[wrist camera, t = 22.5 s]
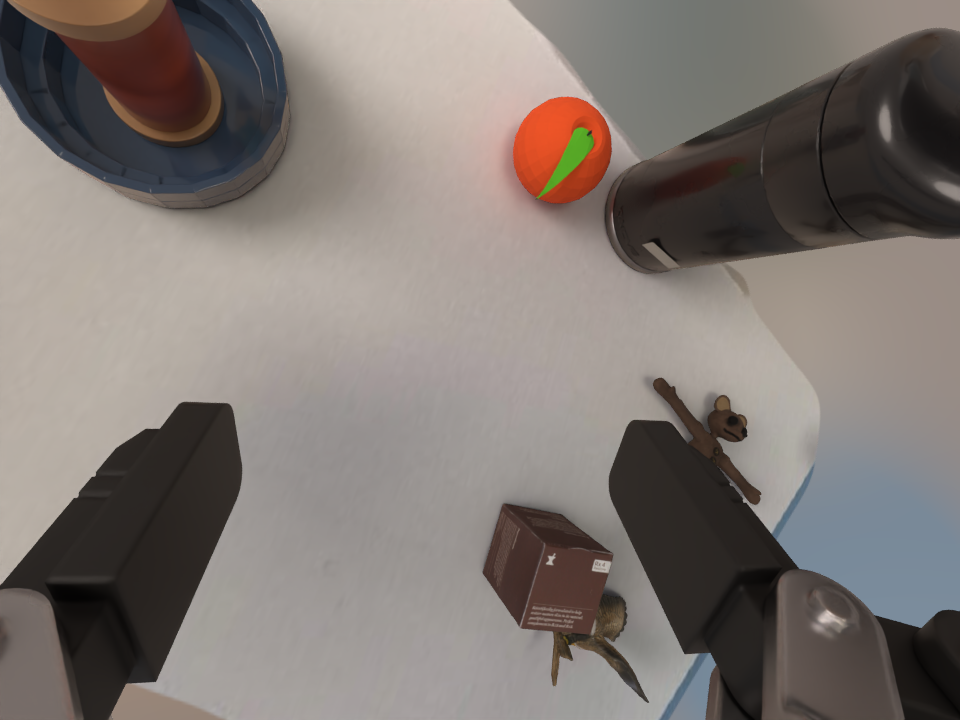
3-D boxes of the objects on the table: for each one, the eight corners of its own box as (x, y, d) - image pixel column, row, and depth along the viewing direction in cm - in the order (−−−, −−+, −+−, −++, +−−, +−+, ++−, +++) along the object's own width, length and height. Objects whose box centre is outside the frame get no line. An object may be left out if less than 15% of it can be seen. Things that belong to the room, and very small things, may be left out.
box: (479, 572, 37) (517, 630, 30) (501, 500, 37) (544, 541, 30) (542, 581, 39) (591, 637, 32) (563, 513, 39) (616, 554, 32)
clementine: (543, 241, 36) (594, 224, 30) (474, 185, 34) (513, 152, 28) (591, 161, 37) (651, 126, 31) (528, 102, 35) (577, 50, 28)
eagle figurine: (530, 681, 38) (625, 702, 39) (571, 689, 32) (680, 712, 34) (539, 582, 42) (625, 604, 44) (576, 573, 37) (673, 598, 38)
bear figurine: (594, 475, 36) (712, 344, 37) (569, 456, 40) (677, 339, 42) (711, 594, 42) (811, 477, 43) (678, 567, 46) (771, 460, 47)
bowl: (227, -39, 28) (213, -95, 24) (324, 171, 31) (326, 150, 27) (-20, 8, 24) (-81, -49, 21) (116, 241, 27) (84, 228, 23)
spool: (193, 32, 27) (106, -173, 16) (242, 131, 28) (194, 5, 17) (87, 58, 25) (-95, -151, 14) (143, 160, 27) (18, 44, 15)
